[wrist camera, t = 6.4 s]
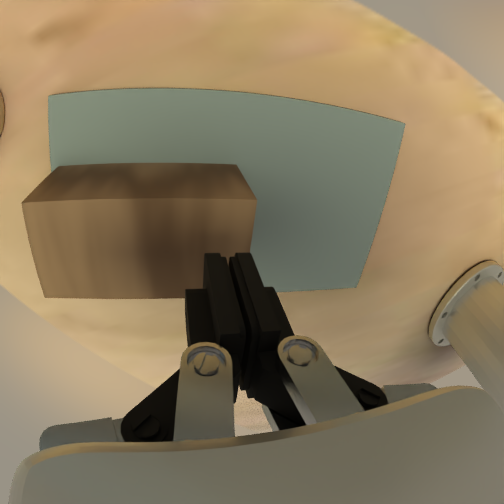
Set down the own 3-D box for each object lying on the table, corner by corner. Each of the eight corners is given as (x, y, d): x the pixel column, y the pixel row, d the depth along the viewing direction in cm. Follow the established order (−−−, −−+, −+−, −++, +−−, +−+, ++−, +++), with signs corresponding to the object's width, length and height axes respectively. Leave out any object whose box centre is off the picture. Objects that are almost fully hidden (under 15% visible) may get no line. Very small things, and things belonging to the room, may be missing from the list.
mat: (400, 121, 18) (405, 123, 17) (353, 283, 25) (356, 287, 24) (52, 94, 13) (48, 95, 12) (75, 290, 19) (73, 295, 19)
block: (257, 199, 13) (20, 202, 10) (243, 296, 15) (43, 297, 13) (236, 164, 17) (57, 166, 14) (228, 243, 19) (68, 244, 17)
